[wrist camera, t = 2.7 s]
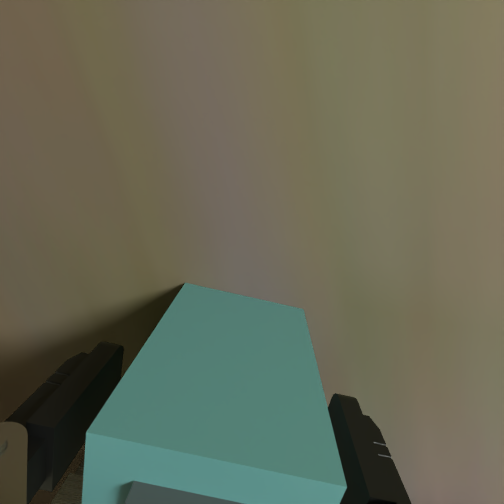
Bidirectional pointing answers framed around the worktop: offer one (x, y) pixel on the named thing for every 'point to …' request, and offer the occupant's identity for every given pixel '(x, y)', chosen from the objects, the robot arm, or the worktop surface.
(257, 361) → the block
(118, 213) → the worktop surface
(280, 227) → the worktop surface
